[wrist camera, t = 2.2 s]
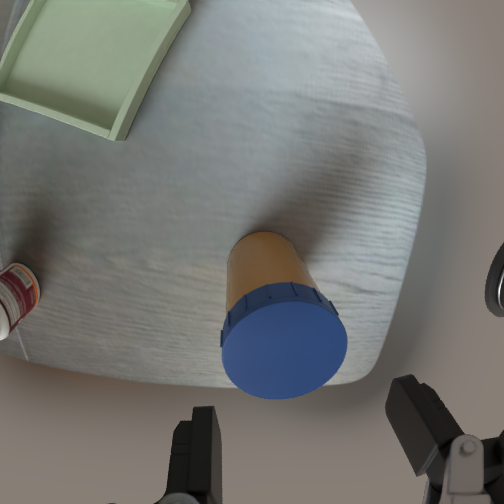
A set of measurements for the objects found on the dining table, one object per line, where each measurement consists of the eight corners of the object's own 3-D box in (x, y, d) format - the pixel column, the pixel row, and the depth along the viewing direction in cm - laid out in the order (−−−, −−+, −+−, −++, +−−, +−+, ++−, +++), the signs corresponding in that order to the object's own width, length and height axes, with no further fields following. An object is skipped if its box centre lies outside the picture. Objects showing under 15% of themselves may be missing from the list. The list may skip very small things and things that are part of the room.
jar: (298, 228, 23) (345, 291, 13) (299, 294, 25) (336, 382, 15) (223, 234, 23) (218, 305, 13) (230, 301, 25) (232, 395, 15)
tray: (191, 10, 17) (188, -1, 15) (124, 141, 20) (114, 141, 18) (55, -14, 14) (44, -22, 12) (1, 97, 17) (-14, 96, 15)
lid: (340, 275, 15) (353, 292, 13) (332, 368, 17) (342, 390, 15) (215, 286, 14) (212, 307, 13) (228, 381, 16) (228, 404, 15)
